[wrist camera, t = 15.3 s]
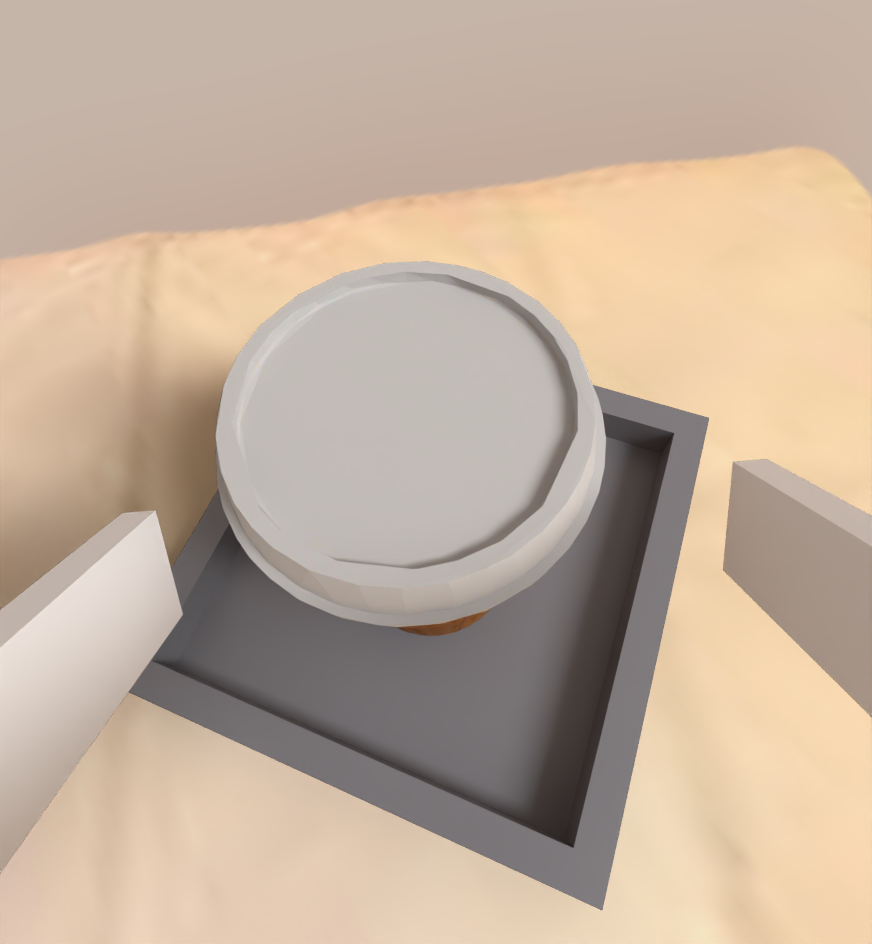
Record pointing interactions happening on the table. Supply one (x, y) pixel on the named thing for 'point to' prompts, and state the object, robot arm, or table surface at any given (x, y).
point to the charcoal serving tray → (460, 673)
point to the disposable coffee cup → (409, 445)
